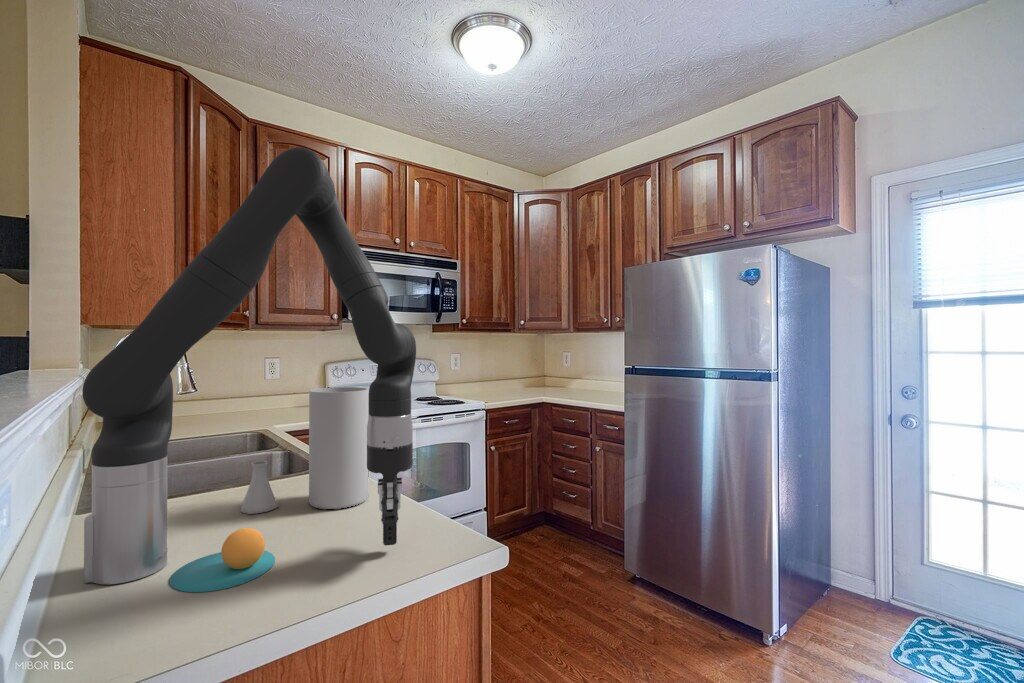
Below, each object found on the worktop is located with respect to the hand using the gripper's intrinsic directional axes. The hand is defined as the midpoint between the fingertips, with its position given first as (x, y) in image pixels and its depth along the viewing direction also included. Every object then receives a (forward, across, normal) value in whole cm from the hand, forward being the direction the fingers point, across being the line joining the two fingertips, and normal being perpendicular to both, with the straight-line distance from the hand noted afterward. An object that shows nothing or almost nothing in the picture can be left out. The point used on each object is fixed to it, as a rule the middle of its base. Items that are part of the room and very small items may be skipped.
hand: (389, 543), depth 81 cm
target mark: (+2, 0, -25) cm, 25 cm away
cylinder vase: (+2, -30, -11) cm, 32 cm away
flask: (+2, -29, -27) cm, 40 cm away
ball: (-2, 0, -22) cm, 22 cm away
